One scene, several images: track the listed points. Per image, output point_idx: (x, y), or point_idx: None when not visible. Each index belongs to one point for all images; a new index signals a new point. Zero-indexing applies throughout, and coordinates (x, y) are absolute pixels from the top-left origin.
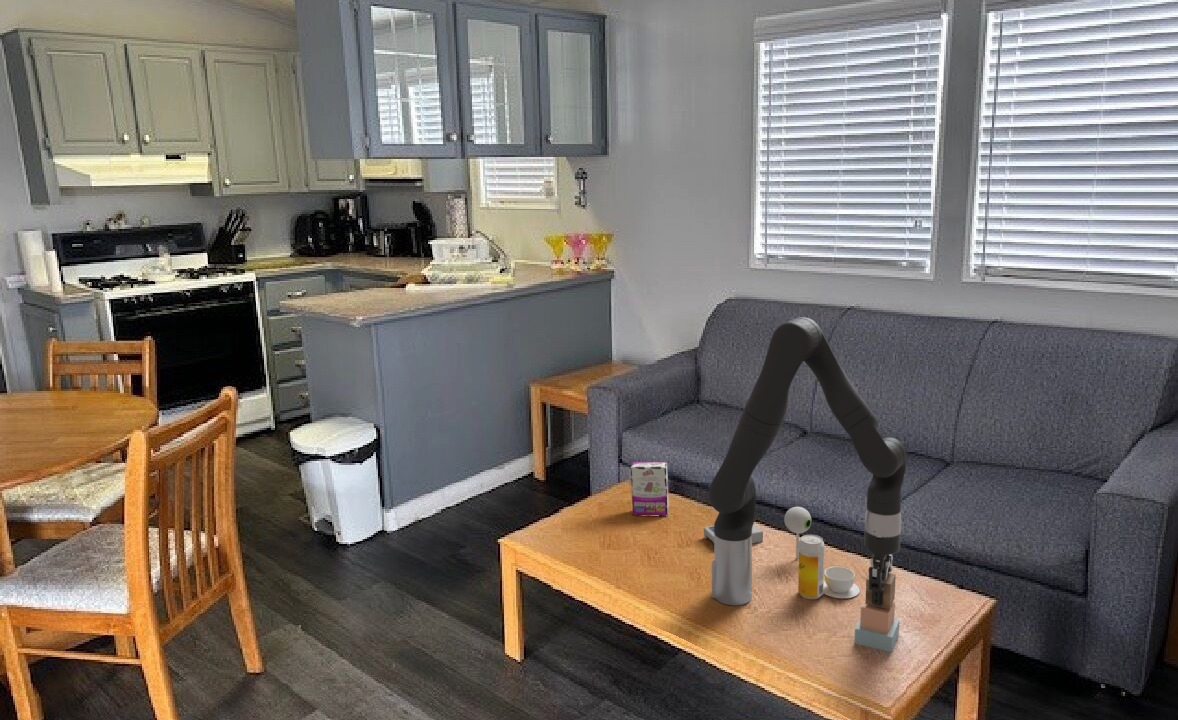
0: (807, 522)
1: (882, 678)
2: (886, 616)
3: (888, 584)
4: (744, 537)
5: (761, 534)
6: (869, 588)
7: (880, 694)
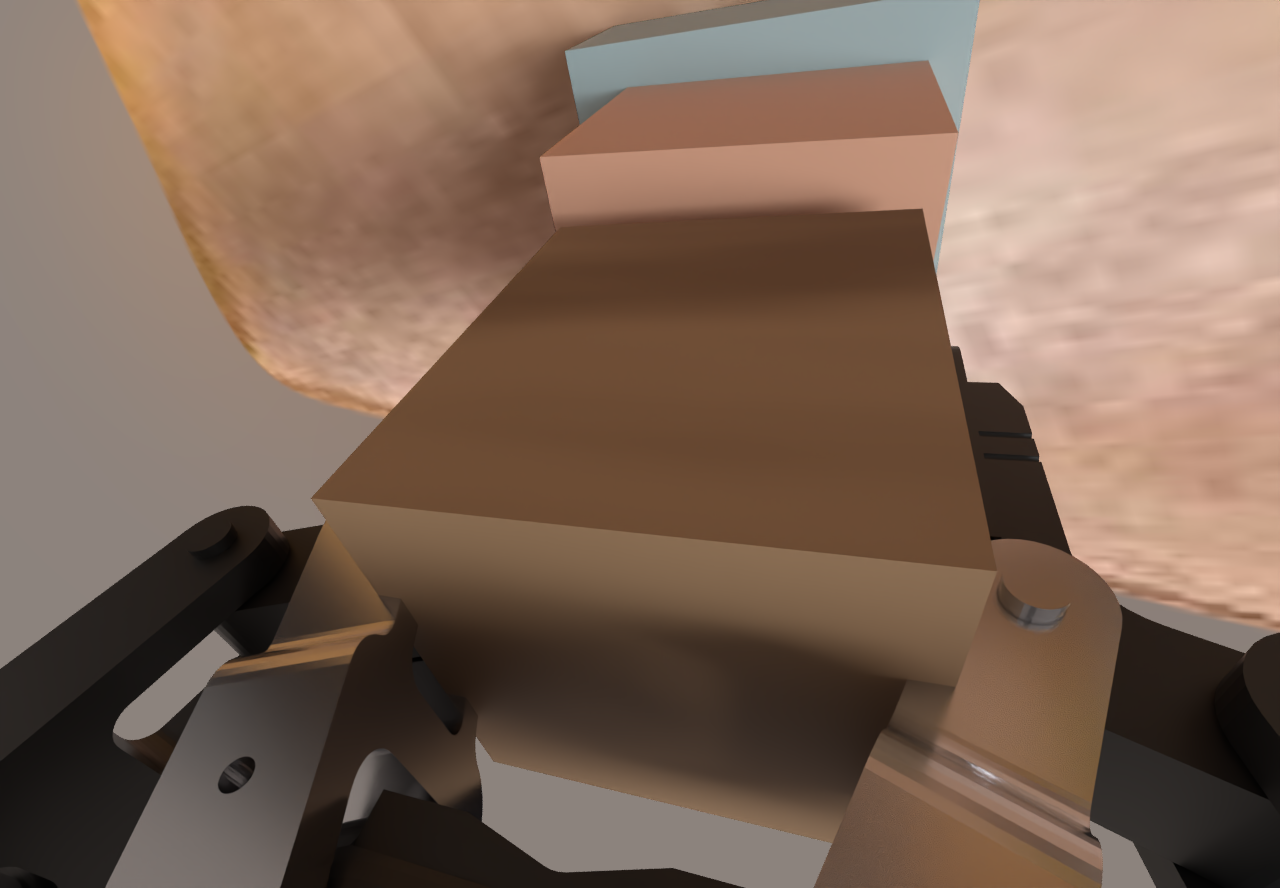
0: None
1: (402, 315)
2: None
3: (488, 737)
4: None
5: None
6: (177, 540)
7: (300, 332)
